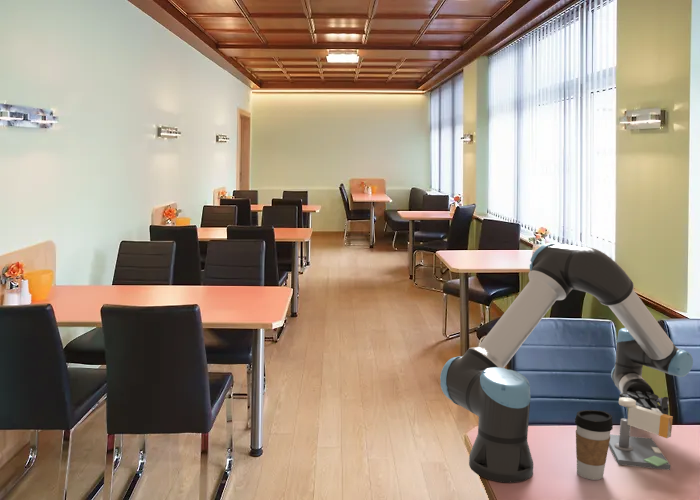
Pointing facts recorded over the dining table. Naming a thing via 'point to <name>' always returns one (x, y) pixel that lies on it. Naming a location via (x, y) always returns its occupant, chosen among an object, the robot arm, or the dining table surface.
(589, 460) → the coffee cup
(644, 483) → the dining table surface
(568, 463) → the dining table surface
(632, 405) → the orange tipped swivel lever
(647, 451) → the tuner board
